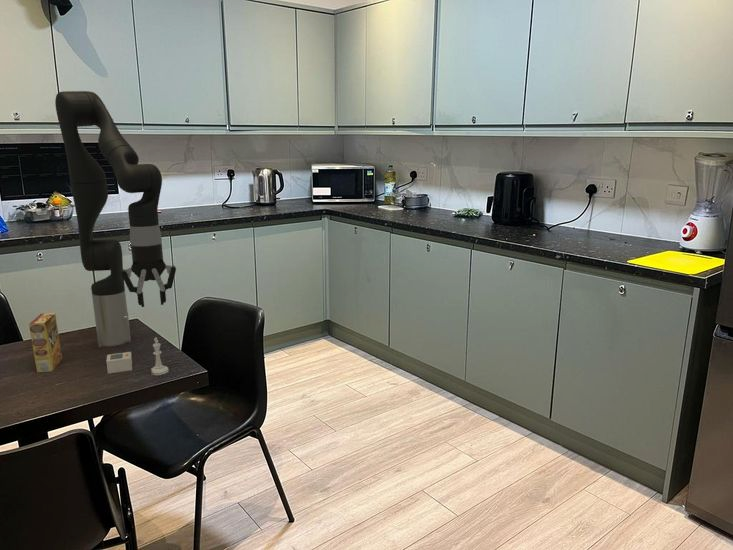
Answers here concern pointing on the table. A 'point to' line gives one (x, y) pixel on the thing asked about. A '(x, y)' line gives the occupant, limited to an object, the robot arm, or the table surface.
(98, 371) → the table surface
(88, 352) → the table surface
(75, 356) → the table surface
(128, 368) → the digital timer
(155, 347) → the chess piece
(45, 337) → the candy box
